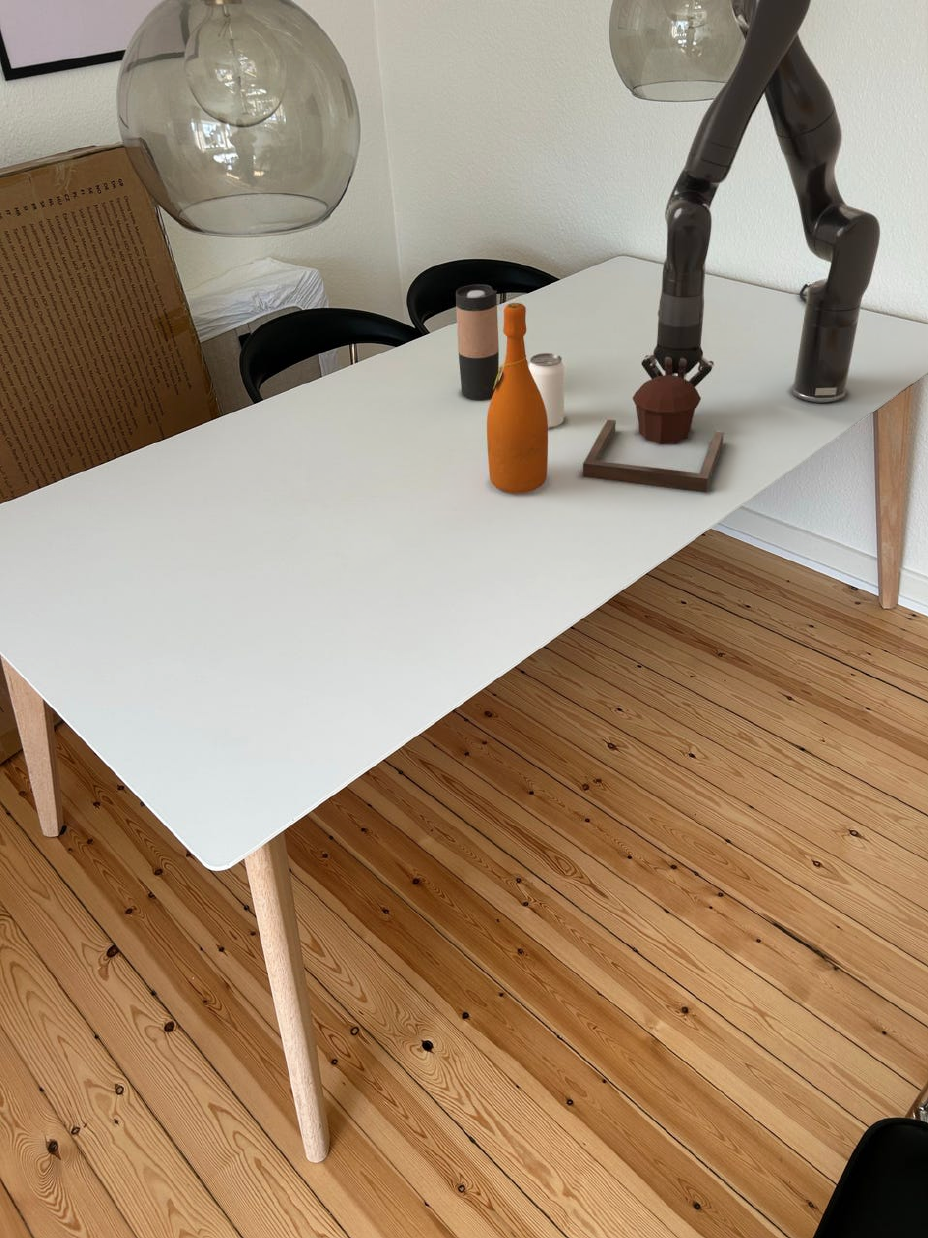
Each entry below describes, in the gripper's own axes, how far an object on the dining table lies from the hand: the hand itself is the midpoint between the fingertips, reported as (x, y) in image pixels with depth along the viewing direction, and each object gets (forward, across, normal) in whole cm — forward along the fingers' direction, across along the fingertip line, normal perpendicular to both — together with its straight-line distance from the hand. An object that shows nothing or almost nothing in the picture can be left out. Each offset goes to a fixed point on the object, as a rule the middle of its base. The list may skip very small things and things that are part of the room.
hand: (673, 409), depth 185 cm
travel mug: (+2, +38, -1) cm, 38 cm away
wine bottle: (+2, +20, +30) cm, 36 cm away
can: (+2, +22, +8) cm, 23 cm away
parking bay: (+1, 0, +17) cm, 17 cm away
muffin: (+2, 0, +7) cm, 7 cm away
